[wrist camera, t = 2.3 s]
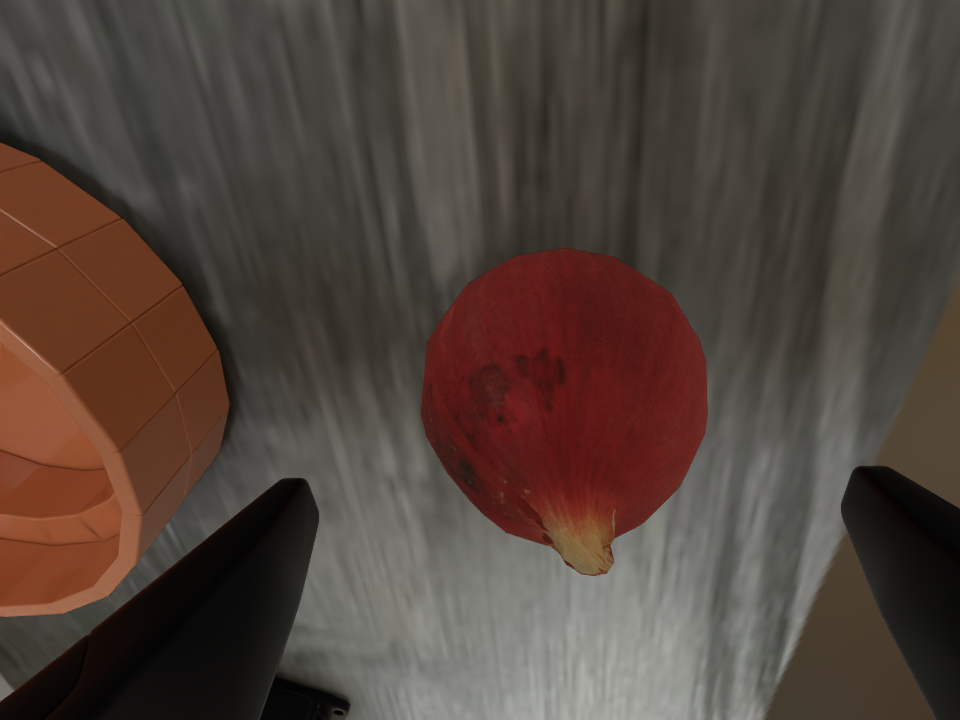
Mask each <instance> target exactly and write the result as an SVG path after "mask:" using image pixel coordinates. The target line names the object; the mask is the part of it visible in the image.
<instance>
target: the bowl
mask: <svg viewBox="0 0 960 720" xmlns="http://www.w3.org/2000/svg"><path fill="white" fill-rule="evenodd" d="M229 405H230V404H229V399H228V394H227V389H226V384H225V379H224V374H223V368H222V363H221V358H220V353H219V350H217V346H216V344H215V342H214V341H213V339H212V337H211V335H210V333H209V331H208V330H207V328H206V326H205V324H204V322H203V320H202V319H201V317H200V315H199V313H198V311H197V309H196V308H195V306H194V304H193V302H192V300H191V298H190V297H189V295H188V293H187V291H186V289H185V288H184V287H183V286H182V282H181V281H180V280H179V279H178V278H177V277H176V276H175V275H174V274H173V272H172V271H171V270H170V269H169V268H168V267H167V266H166V265H165V264H164V263H163V261H162V260H161V259H160V258H159V257H158V256H157V255H156V254H155V253H154V252H153V250H152V249H151V248H150V247H149V246H148V245H147V244H146V243H145V242H144V241H143V239H142V238H141V237H140V236H139V235H138V234H137V233H136V232H135V231H134V230H133V228H132V227H131V226H130V225H129V224H128V223H127V222H126V221H125V220H124V219H121V217H120V216H119V215H117V214H116V213H115V212H113V211H112V210H110V209H109V208H108V207H106V206H105V205H103V204H102V203H101V202H99V201H98V200H96V199H95V198H94V197H92V196H91V195H89V194H88V193H87V192H85V191H84V190H82V189H81V188H80V187H78V186H77V185H75V184H74V183H73V182H71V181H70V180H68V179H67V178H66V177H64V176H63V175H61V174H60V173H59V172H57V171H56V170H54V169H53V168H52V167H50V166H49V165H47V164H46V163H44V162H41V160H40V159H38V158H36V157H34V156H31V155H29V154H27V153H24V152H22V151H19V150H17V149H15V148H12V147H10V146H8V145H5V144H3V143H0V616H3V617H5V616H6V617H14V616H31V615H48V614H62V613H66V612H69V611H71V610H74V609H76V608H79V607H82V606H84V605H87V604H89V603H92V602H95V601H97V600H100V599H102V598H105V597H107V596H109V595H111V593H112V592H113V591H114V590H115V589H116V588H117V587H118V585H119V584H120V583H121V582H122V581H123V580H124V578H125V577H126V576H127V575H128V574H129V573H130V572H131V570H132V569H133V568H134V567H135V566H136V565H137V563H138V562H139V561H140V559H141V558H142V557H143V555H144V554H145V553H146V551H147V550H148V548H149V547H150V546H151V544H152V543H153V542H154V540H155V539H156V538H157V536H158V535H159V534H160V532H161V531H162V529H163V528H164V527H165V525H166V524H167V523H168V521H169V520H170V519H171V517H172V516H173V515H174V513H175V512H176V510H177V509H178V508H179V506H180V505H181V504H182V502H183V501H184V499H185V498H186V497H187V495H188V494H189V493H190V491H191V490H192V489H193V487H194V486H195V485H196V483H197V482H198V480H199V479H200V478H201V476H202V475H203V474H204V472H205V471H206V470H207V468H208V467H209V466H210V464H211V463H212V461H213V460H214V459H215V457H216V456H217V455H218V453H219V451H220V447H221V443H222V438H223V433H224V429H225V424H226V420H227V415H228V411H229Z"/></svg>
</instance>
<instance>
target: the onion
mask: <svg viewBox="0 0 960 720" xmlns="http://www.w3.org/2000/svg"><path fill="white" fill-rule="evenodd" d="M707 415H708V407H707V374H706V360H705V357H704V353H703V350H702V347H701V343H700V340H699V339H698V337H697V335H696V334H695V332H694V330H693V329H692V327H691V325H690V324H689V322H688V320H687V319H686V317H685V315H684V314H683V312H682V310H681V309H680V307H679V305H678V303H677V302H676V300H675V298H674V297H673V295H672V294H671V293H670V292H668V291H667V290H665V289H664V288H662V287H661V286H659V285H658V284H656V283H655V282H653V281H652V280H650V279H649V278H647V277H645V276H644V275H642V274H641V273H639V272H637V271H636V270H634V269H633V268H631V267H630V266H628V265H626V264H625V263H623V262H622V261H620V260H619V259H617V258H615V257H612V256H607V255H601V254H596V253H590V252H584V251H579V250H573V249H568V248H561V249H555V250H550V251H544V252H538V253H532V254H526V255H520V256H514V257H512V258H510V259H509V260H507V261H505V262H503V263H502V264H500V265H498V266H497V267H495V268H493V269H491V270H490V271H488V272H486V273H485V274H483V275H481V276H479V277H478V278H476V279H474V280H473V281H471V282H469V283H468V284H467V286H466V287H465V288H464V290H463V291H462V292H461V294H460V295H459V296H458V298H457V299H456V300H455V302H454V303H453V304H452V306H451V307H450V308H449V310H448V311H447V313H446V314H445V315H444V317H443V318H442V319H441V321H440V322H439V324H438V325H437V327H436V328H435V330H434V332H433V333H432V335H431V336H430V338H429V340H428V341H427V350H426V361H425V372H424V382H423V394H422V405H421V417H422V421H423V425H424V429H425V433H426V437H427V439H428V440H429V442H430V444H431V446H432V447H433V449H434V451H435V453H436V454H437V456H438V458H439V459H440V461H441V463H442V465H443V466H444V468H445V470H446V472H447V473H448V474H449V476H450V477H451V478H452V479H453V481H454V482H455V483H456V484H457V485H458V487H459V488H460V489H461V490H462V492H463V493H464V494H465V495H466V496H467V498H468V499H469V500H470V501H471V502H472V503H473V504H474V505H475V506H476V507H477V508H478V509H479V510H480V511H481V512H482V513H483V514H484V515H485V516H486V517H487V518H489V519H490V520H491V521H492V522H494V523H495V524H496V525H497V526H499V527H500V528H501V529H502V530H504V531H505V532H506V533H508V534H512V535H515V536H518V537H521V538H524V539H527V540H530V541H533V542H537V543H540V544H543V545H548V546H551V547H552V548H553V549H555V550H556V551H557V552H558V553H559V554H560V555H561V557H562V558H563V560H564V562H565V563H566V565H568V566H570V567H572V568H573V569H575V570H576V571H577V572H579V573H580V574H583V575H591V576H596V575H601V574H606V573H607V572H608V571H609V569H610V567H611V566H612V564H613V563H614V559H613V555H612V550H611V546H610V545H611V543H612V542H613V540H614V538H616V537H618V536H620V535H622V534H624V533H626V532H628V531H630V530H632V529H634V528H636V527H638V526H639V525H641V524H642V523H644V522H645V521H646V520H647V519H648V518H649V517H650V516H651V515H652V514H653V513H654V512H655V511H656V510H657V509H658V508H659V507H660V506H661V505H662V504H663V503H664V502H665V501H666V500H667V499H668V498H669V497H670V496H671V495H672V494H673V493H674V492H675V491H676V490H677V489H678V488H679V487H680V485H681V483H682V481H683V479H684V478H685V476H686V474H687V472H688V470H689V467H690V465H691V463H692V461H693V459H694V457H695V454H696V452H697V450H698V448H699V446H700V444H701V441H702V439H703V437H704V435H705V430H706V422H707Z"/></svg>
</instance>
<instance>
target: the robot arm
mask: <svg viewBox="0 0 960 720" xmlns="http://www.w3.org/2000/svg"><path fill="white" fill-rule="evenodd" d="M841 513H842V518H843V520H844V523H845V526H846V528H847V531H848V533H849V536H850V538H851V541H852V543H853V546H854V548H855V551H856V554H857V556H858V559H859V561H860V564H861V566H862V569H863V571H864V574H865V576H866V579H867V581H868V584H869V586H870V589H871V592H872V594H873V597H874V599H875V601H876V604H877V606H878V608H879V611H880V613H881V615H882V617H883V619H884V621H885V623H886V625H887V627H888V629H889V631H890V633H891V635H892V637H893V639H894V640H895V643H896V644H897V646H898V648H899V650H900V652H901V654H902V656H903V658H904V660H905V662H906V664H907V666H908V667H909V669H910V671H911V673H912V675H913V677H914V679H915V681H916V683H917V685H918V686H919V688H920V690H921V692H922V694H923V696H924V698H925V700H926V702H927V704H928V706H929V708H930V710H931V712H932V714H933V715H934V717H935V719H936V720H960V508H958V507H956V506H954V505H953V504H951V503H949V502H948V501H946V500H944V499H943V498H941V497H939V496H937V495H936V494H934V493H932V492H931V491H929V490H927V489H926V488H924V487H922V486H920V485H918V484H917V483H915V482H914V481H912V480H910V479H908V478H907V477H905V476H903V475H902V474H900V473H898V472H897V471H895V470H893V469H891V468H889V467H886V466H859V467H856V468H855V469H854V470H853V472H852V474H851V476H850V479H849V482H848V485H847V488H846V491H845V494H844V496H843V499H842V503H841ZM318 524H319V511H318V507H317V505H316V502H315V499H314V497H313V494H312V492H311V489H310V486H309V484H308V482H307V481H306V480H305V479H303V478H285V479H281V480H280V481H278V482H277V483H275V484H274V485H273V486H272V487H270V488H269V489H268V490H267V491H265V492H264V493H263V494H262V495H260V496H259V497H258V498H257V499H256V500H254V501H253V502H252V503H251V504H249V505H248V506H247V507H246V508H244V509H243V510H242V511H241V512H239V513H238V514H237V515H236V516H234V517H233V518H232V519H231V520H229V521H228V522H227V523H226V524H224V525H223V526H222V527H221V528H219V529H218V530H217V531H216V532H214V533H213V534H212V535H211V536H209V537H208V538H207V539H206V540H204V541H203V542H202V543H201V544H199V545H198V546H197V547H196V548H194V549H193V550H192V551H191V552H189V553H188V554H187V555H186V556H184V557H183V558H182V559H181V560H179V561H178V562H177V563H176V564H174V565H173V566H172V567H171V568H169V569H168V570H167V571H166V572H164V573H163V574H162V575H161V576H159V577H158V578H157V579H156V580H154V581H153V582H152V583H151V584H149V585H148V586H147V587H146V588H144V589H143V590H142V591H141V592H139V593H138V594H137V595H136V596H135V597H133V598H132V599H131V600H130V601H128V602H127V603H126V604H125V605H123V606H122V607H121V608H120V609H118V610H117V611H116V612H115V613H113V614H112V615H111V616H110V617H108V618H107V619H106V620H105V621H103V622H102V623H101V624H100V625H98V626H97V627H96V628H95V629H93V630H92V631H91V633H90V635H86V636H84V637H83V638H82V639H81V640H79V641H78V642H77V643H76V644H74V645H73V646H72V647H71V648H69V649H68V650H67V651H66V652H64V653H63V654H62V655H61V656H59V657H58V658H57V659H56V660H54V661H53V662H52V663H50V664H49V665H48V666H47V667H45V668H44V669H43V670H41V671H40V672H39V673H38V674H36V675H35V676H34V677H32V678H31V679H30V680H29V681H27V682H26V683H25V684H23V685H22V686H21V687H19V688H18V689H17V690H15V691H14V692H13V693H11V694H10V695H9V696H7V697H6V698H5V699H3V700H2V701H1V702H0V720H345V719H346V717H347V716H348V713H349V709H350V703H349V702H347V701H345V700H343V699H339V698H336V697H333V696H329V695H326V694H323V693H319V692H316V691H313V690H309V689H306V688H303V687H299V686H296V685H293V684H289V683H286V682H283V681H279V680H276V679H274V677H275V674H276V671H277V668H278V665H279V662H280V660H281V657H282V654H283V651H284V648H285V645H286V642H287V639H288V637H289V634H290V631H291V628H292V625H293V622H294V619H295V616H296V613H297V610H298V607H299V604H300V600H301V596H302V592H303V588H304V584H305V579H306V575H307V571H308V567H309V562H310V558H311V554H312V550H313V545H314V541H315V537H316V532H317V528H318Z"/></svg>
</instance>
